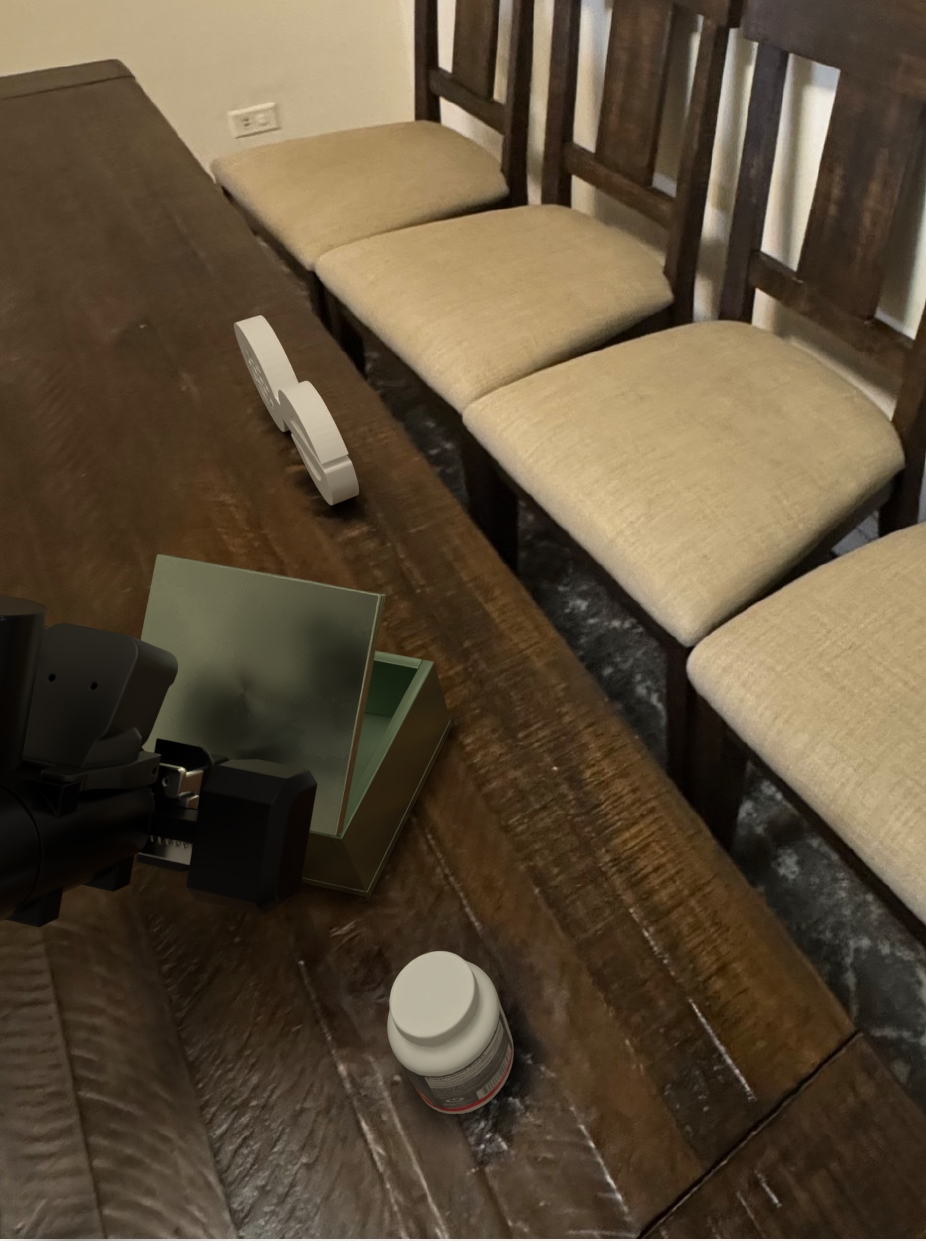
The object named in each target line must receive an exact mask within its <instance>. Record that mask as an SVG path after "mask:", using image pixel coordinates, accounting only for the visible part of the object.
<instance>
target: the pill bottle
mask: <svg viewBox="0 0 926 1241" xmlns="http://www.w3.org/2000/svg"><path fill="white" fill-rule="evenodd" d="M388 1000H389V1003H388V1004H389V1005H388V1006H389V1011H388V1016H387V1021H386V1024H387V1025H386V1030H387V1037H388V1042H389V1045H390V1048H391V1050H392V1053H393V1055H394V1058H396V1060H397V1061H398V1063H399V1064H400V1065H401V1067H402V1068H403V1070H404V1072H405V1073H406V1075H407V1077H408V1078H409V1080H410V1082H411V1083H412V1086H413V1087H414V1089H415V1091H416V1092H417V1094H418V1095H419V1096H420V1098H421V1099H422V1100H423V1101H424V1103H425V1104H427V1106H429V1107H430V1108H432V1109H433V1110H436V1111H437V1112H439V1113H444V1114H448V1115H463V1114H467V1113H471V1112H474V1111H476V1110H478V1109H480V1108H481V1107H483V1106H485V1105H487V1104H488V1103H489V1102H490V1101H492V1100H493V1099H494V1098H495V1097H496V1096H497V1094H498V1093H499V1092H500V1091H501V1090H502V1088H503V1086H504V1085H505V1084H506V1082H507V1080H508V1078H509V1075H510V1073H511V1070H512V1066H513V1064H514V1062H513V1061H514V1053H515V1052H514V1050H515V1049H514V1041H513V1037H512V1033H511V1030H510V1026H509V1023H508V1019H507V1017H506V1015H505V1012H504V1009H503V1007H502V1005H501V1002H500V998H499V995H498V992H497V989H496V987H495V984H494V983H493V981H492V980H491V978H490V977H489V976H488V975H487V973H485V971H484V970H483V969H482V968H480V967H479V966H477V965H476V964H474V963H472V962H469V961H468V960H465V959H464V958H463V957H461V956H459V955H458V954H456V953H453V952H451V951H446V950H436V951H430V952H425V953H424V954H421V955H419V956H417V957H416V958H414V959H412V960H411V961H410V962H409V963H407V964H406V965H405V966H404V967H403V968H402V970H400V972H399V973H398V975H397V976H396V978H395V980H394V982H393V984H392V987H391V990H390V995H389V999H388Z"/></svg>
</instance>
